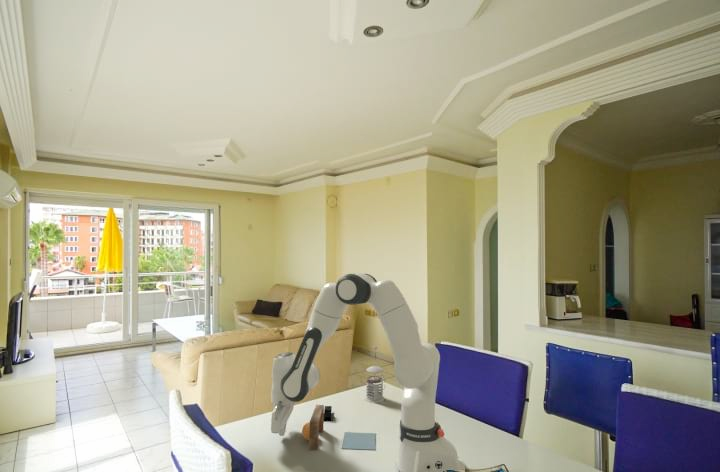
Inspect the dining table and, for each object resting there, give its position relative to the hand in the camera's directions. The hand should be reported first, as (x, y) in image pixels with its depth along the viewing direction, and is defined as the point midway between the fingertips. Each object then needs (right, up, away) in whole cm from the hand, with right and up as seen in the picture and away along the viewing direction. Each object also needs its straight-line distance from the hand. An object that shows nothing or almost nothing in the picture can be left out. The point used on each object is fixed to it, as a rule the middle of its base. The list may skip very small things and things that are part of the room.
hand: (282, 433), depth 143 cm
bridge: (+13, -2, -1) cm, 13 cm away
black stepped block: (+16, -3, +18) cm, 24 cm away
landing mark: (+29, -2, -1) cm, 29 cm away
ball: (+11, +1, 0) cm, 11 cm away
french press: (+37, -4, +38) cm, 53 cm away
